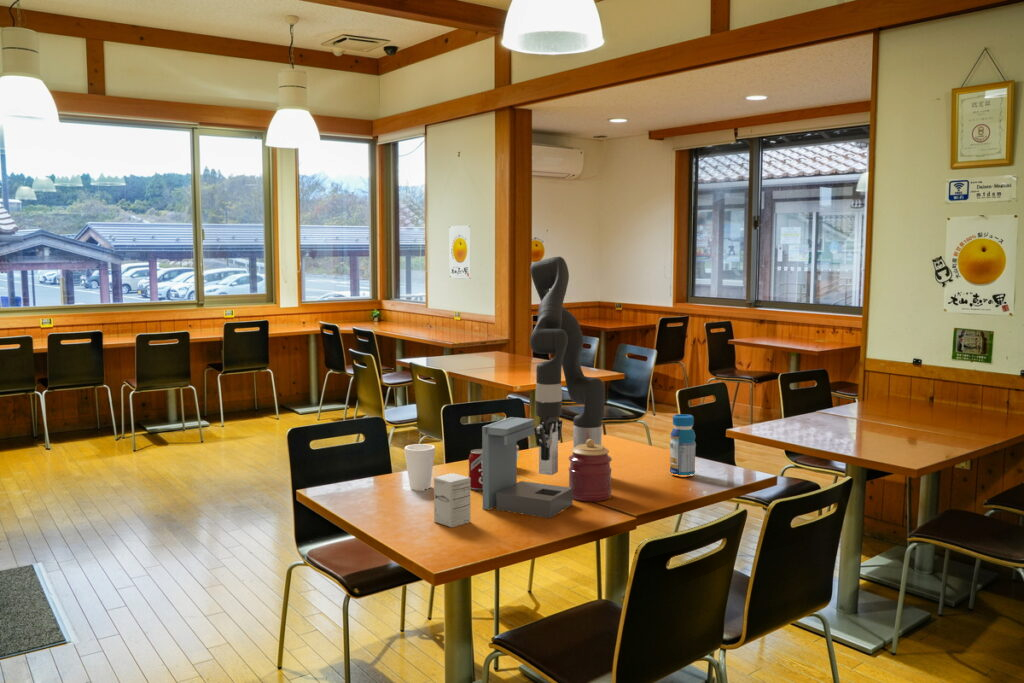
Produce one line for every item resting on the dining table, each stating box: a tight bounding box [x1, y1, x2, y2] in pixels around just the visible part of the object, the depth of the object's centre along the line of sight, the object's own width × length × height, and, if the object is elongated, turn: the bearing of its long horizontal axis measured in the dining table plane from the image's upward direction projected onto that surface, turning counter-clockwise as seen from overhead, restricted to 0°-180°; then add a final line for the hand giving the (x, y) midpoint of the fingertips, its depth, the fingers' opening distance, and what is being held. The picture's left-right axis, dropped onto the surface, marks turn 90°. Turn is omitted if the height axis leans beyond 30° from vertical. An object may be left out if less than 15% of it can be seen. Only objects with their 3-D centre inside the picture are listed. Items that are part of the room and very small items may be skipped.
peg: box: [538, 431, 559, 476], centre depth 238 cm, size 4×4×12 cm
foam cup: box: [404, 443, 436, 491], centre depth 263 cm, size 10×9×13 cm
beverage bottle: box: [669, 413, 697, 475], centre depth 277 cm, size 8×8×20 cm
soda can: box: [468, 448, 483, 491], centre depth 262 cm, size 7×7×12 cm
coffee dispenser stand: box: [481, 416, 535, 510], centre depth 245 cm, size 17×8×24 cm, turn 151°
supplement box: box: [433, 472, 472, 528], centre depth 228 cm, size 7×7×13 cm
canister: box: [568, 439, 613, 503], centre depth 252 cm, size 13×13×18 cm
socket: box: [495, 480, 573, 519], centre depth 242 cm, size 15×17×5 cm
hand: (548, 458), depth 239 cm, fingers closed on peg, 4 cm apart
